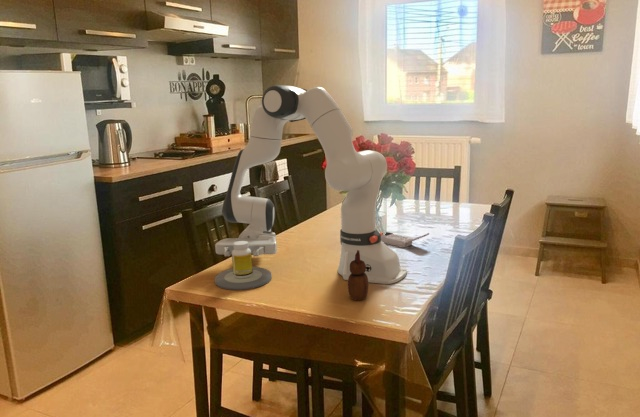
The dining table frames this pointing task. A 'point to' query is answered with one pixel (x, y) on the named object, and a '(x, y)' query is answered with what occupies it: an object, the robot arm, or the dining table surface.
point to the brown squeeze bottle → (358, 279)
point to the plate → (232, 283)
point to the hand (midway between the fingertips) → (240, 254)
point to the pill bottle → (242, 260)
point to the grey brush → (398, 239)
